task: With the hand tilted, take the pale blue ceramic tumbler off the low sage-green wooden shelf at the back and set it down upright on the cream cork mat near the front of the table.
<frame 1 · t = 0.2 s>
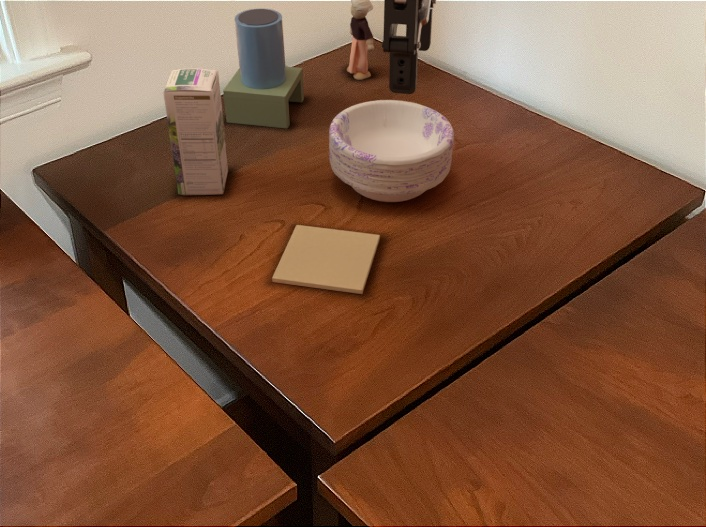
hand: (410, 69, 72), 25 cm above the table, tool pointing down, fingers open, 8 cm apart
paper bowls: (390, 183, 104), on the table
mat: (327, 259, 92), on the table
cup: (263, 78, 116), point 5 cm above the table, touching shelf
syrup box: (205, 184, 104), on the table
grandmother figurine: (360, 75, 128), on the table
shelf: (266, 110, 119), on the table
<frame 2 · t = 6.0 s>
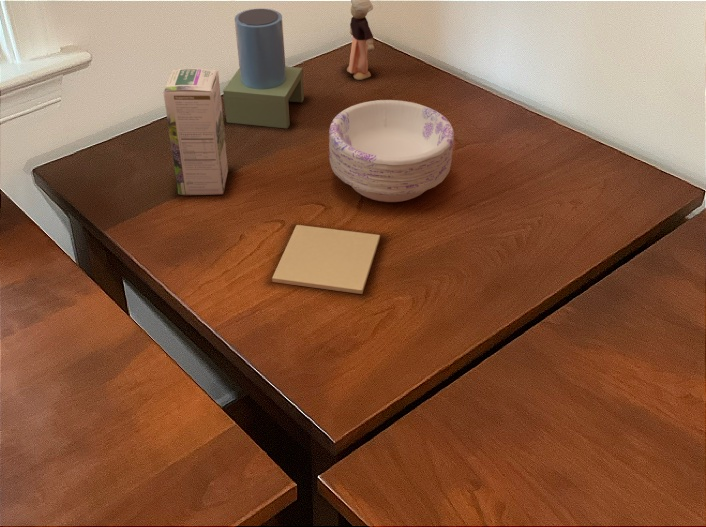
nothing on the table moved.
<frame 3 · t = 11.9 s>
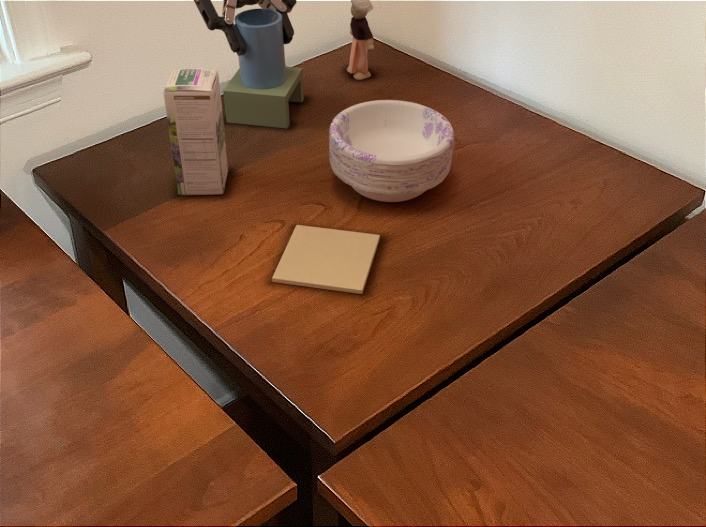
hand: (265, 47, 111), 10 cm above the table, tool tilted 45°, fingers closed on cup, 6 cm apart
cup: (263, 78, 116), point 5 cm above the table, touching gripper, shelf
everything else where it was.
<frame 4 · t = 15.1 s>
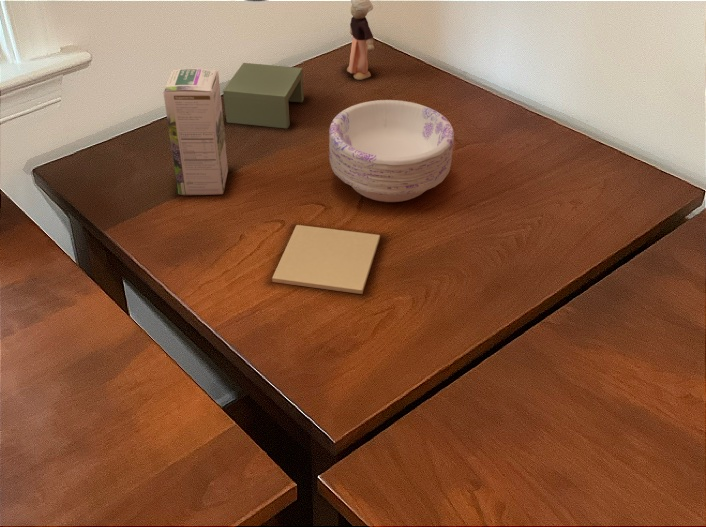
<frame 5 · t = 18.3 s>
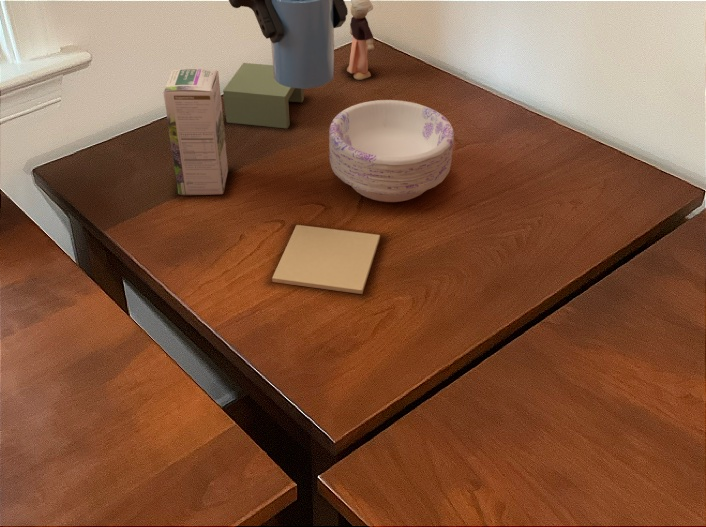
hand: (310, 31, 82), 24 cm above the table, tool tilted 45°, fingers closed on cup, 6 cm apart
cup: (304, 74, 86), point 19 cm above the table, touching gripper
everything else where it was.
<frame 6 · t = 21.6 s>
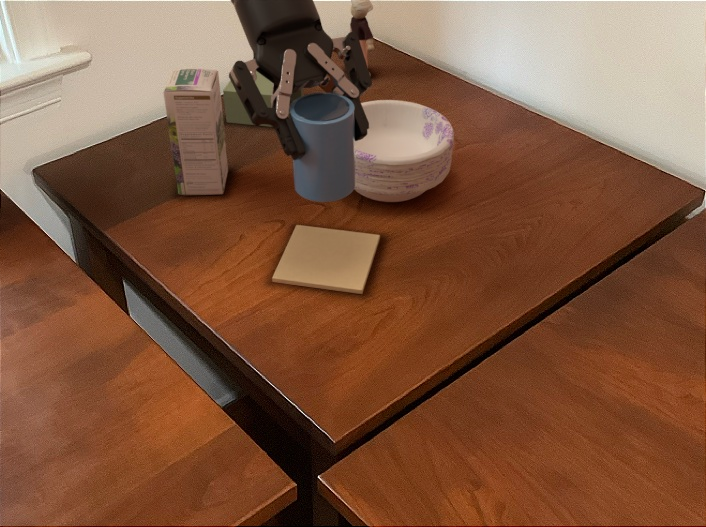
hand: (331, 147, 81), 15 cm above the table, tool tilted 45°, fingers closed on cup, 6 cm apart
cup: (324, 184, 85), point 10 cm above the table, touching gripper
everything else where it was.
when the fingers open (6 cm above the table, at t = 24.7 s): cup stays where it is, resting on mat.
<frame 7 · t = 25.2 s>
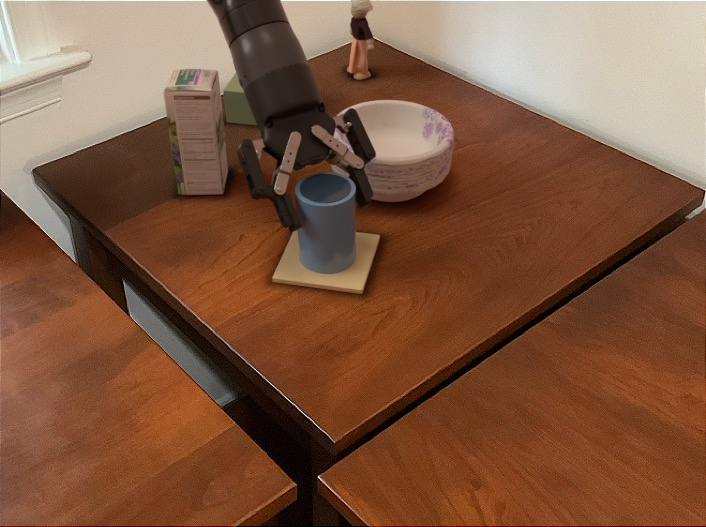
hand: (332, 217, 87), 7 cm above the table, tool tilted 45°, fingers open, 8 cm apart
cup: (327, 255, 91), point 1 cm above the table, touching mat
everything else where it was.
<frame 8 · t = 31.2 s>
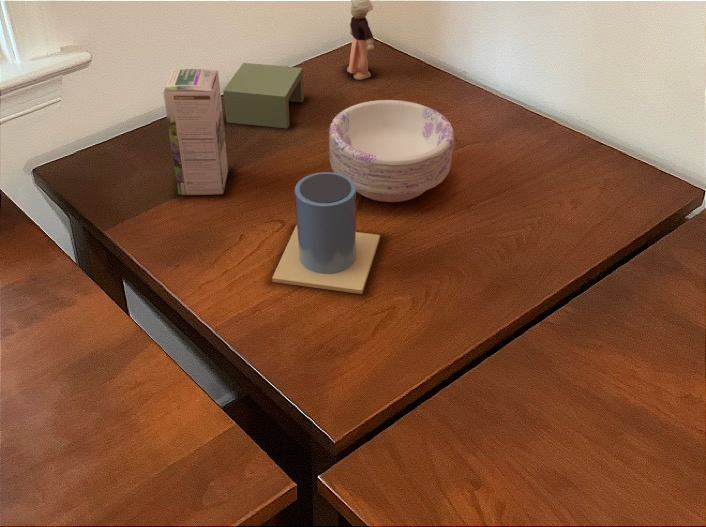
nothing on the table moved.
at the end: cup inside the target area on the mat (0.0 cm from its centre), point 0.6 cm above the mat's base; cup tilted 0°; the gripper is holding nothing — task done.
